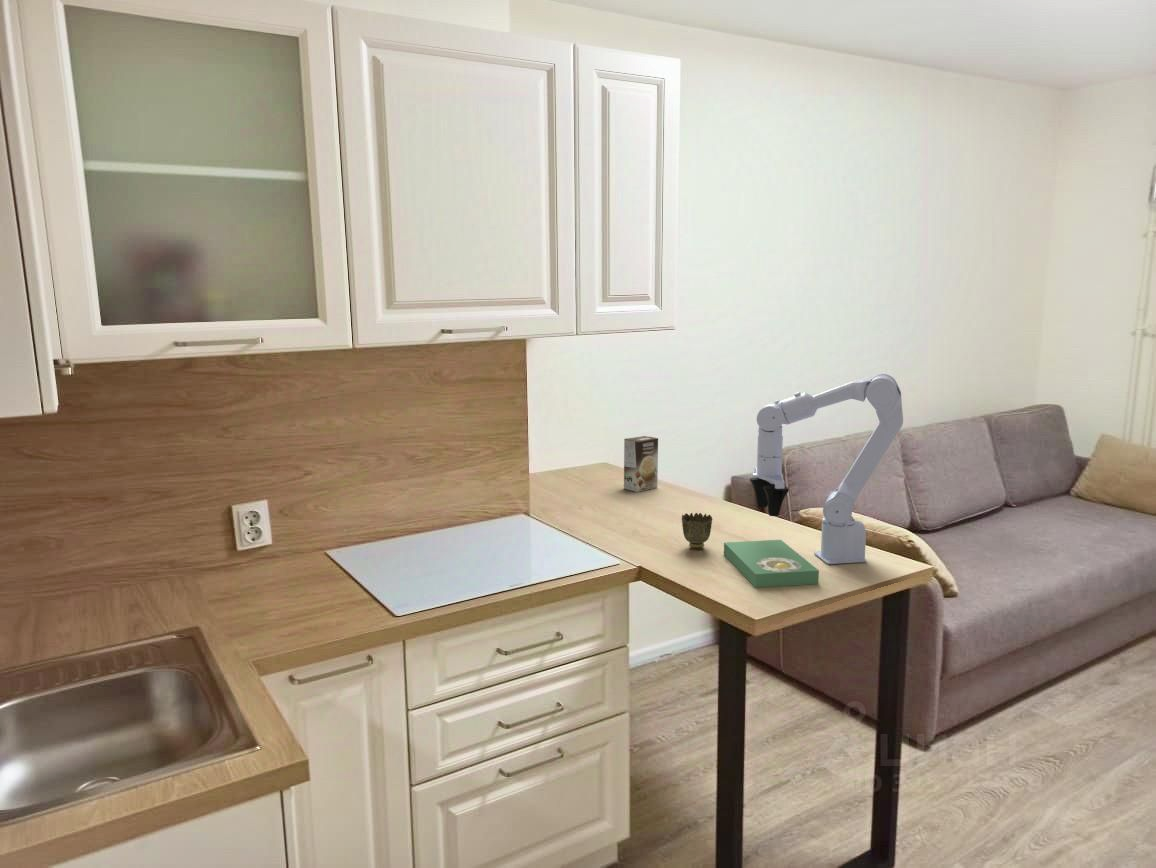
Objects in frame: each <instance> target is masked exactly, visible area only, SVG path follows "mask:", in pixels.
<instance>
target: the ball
mask: <svg viewBox="0 0 1156 868" xmlns="http://www.w3.org/2000/svg"><path fill="white" fill-rule="evenodd" d="M773 568H777V569H787V568H789V567H788V566H787V565H786V564H784V563H778V564H776V565H775V566H774V567H773Z"/></svg>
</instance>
